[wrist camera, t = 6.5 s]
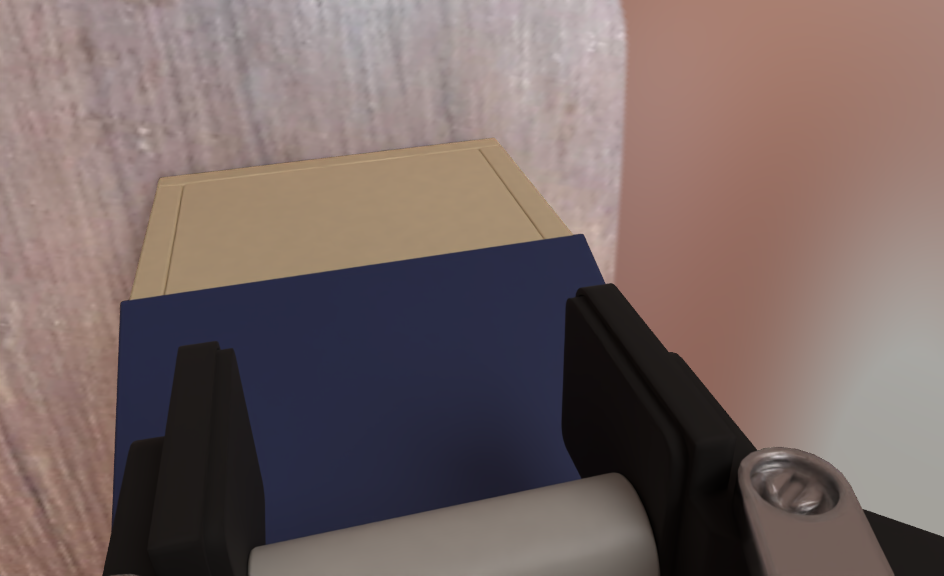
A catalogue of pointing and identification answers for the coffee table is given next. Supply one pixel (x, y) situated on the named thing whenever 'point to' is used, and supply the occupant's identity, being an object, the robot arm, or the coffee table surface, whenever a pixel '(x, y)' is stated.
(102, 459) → the coffee table surface
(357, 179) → the chest
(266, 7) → the coffee table surface
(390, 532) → the lid
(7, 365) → the coffee table surface
